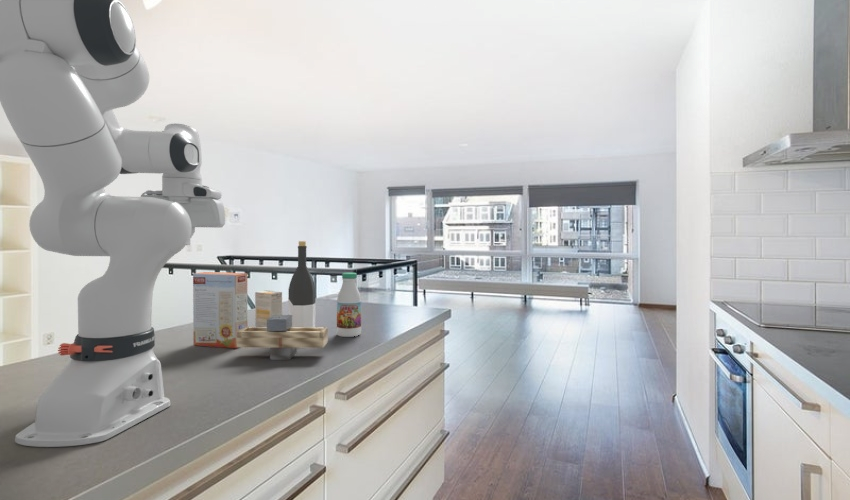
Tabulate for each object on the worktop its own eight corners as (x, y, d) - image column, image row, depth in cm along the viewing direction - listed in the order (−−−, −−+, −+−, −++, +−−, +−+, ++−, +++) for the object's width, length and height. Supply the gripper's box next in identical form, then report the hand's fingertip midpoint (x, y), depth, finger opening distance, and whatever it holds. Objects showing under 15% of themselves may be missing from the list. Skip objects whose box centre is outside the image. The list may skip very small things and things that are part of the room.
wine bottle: (317, 339, 134) (317, 241, 132) (289, 341, 131) (289, 241, 129) (313, 333, 141) (313, 241, 140) (287, 335, 138) (287, 240, 137)
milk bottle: (334, 333, 142) (334, 272, 141) (357, 331, 146) (357, 271, 145) (340, 338, 135) (340, 274, 134) (364, 336, 139) (364, 273, 138)
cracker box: (248, 344, 127) (248, 272, 126) (235, 349, 121) (234, 274, 121) (207, 340, 131) (207, 270, 130) (192, 345, 125) (192, 272, 124)
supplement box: (283, 331, 144) (283, 291, 144) (271, 334, 140) (271, 293, 140) (266, 328, 149) (266, 289, 148) (254, 330, 144) (254, 291, 144)
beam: (327, 352, 120) (328, 326, 120) (322, 359, 113) (323, 332, 113) (246, 352, 119) (246, 326, 119) (236, 359, 112) (236, 332, 112)
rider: (292, 332, 119) (292, 315, 118) (286, 337, 113) (286, 319, 113) (273, 331, 118) (273, 315, 118) (266, 336, 113) (266, 319, 113)
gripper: (132, 189, 108) (133, 245, 108) (217, 190, 108) (217, 246, 109) (147, 191, 114) (148, 244, 114) (227, 192, 115) (228, 245, 115)
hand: (182, 245), depth 112 cm, fingers closed
